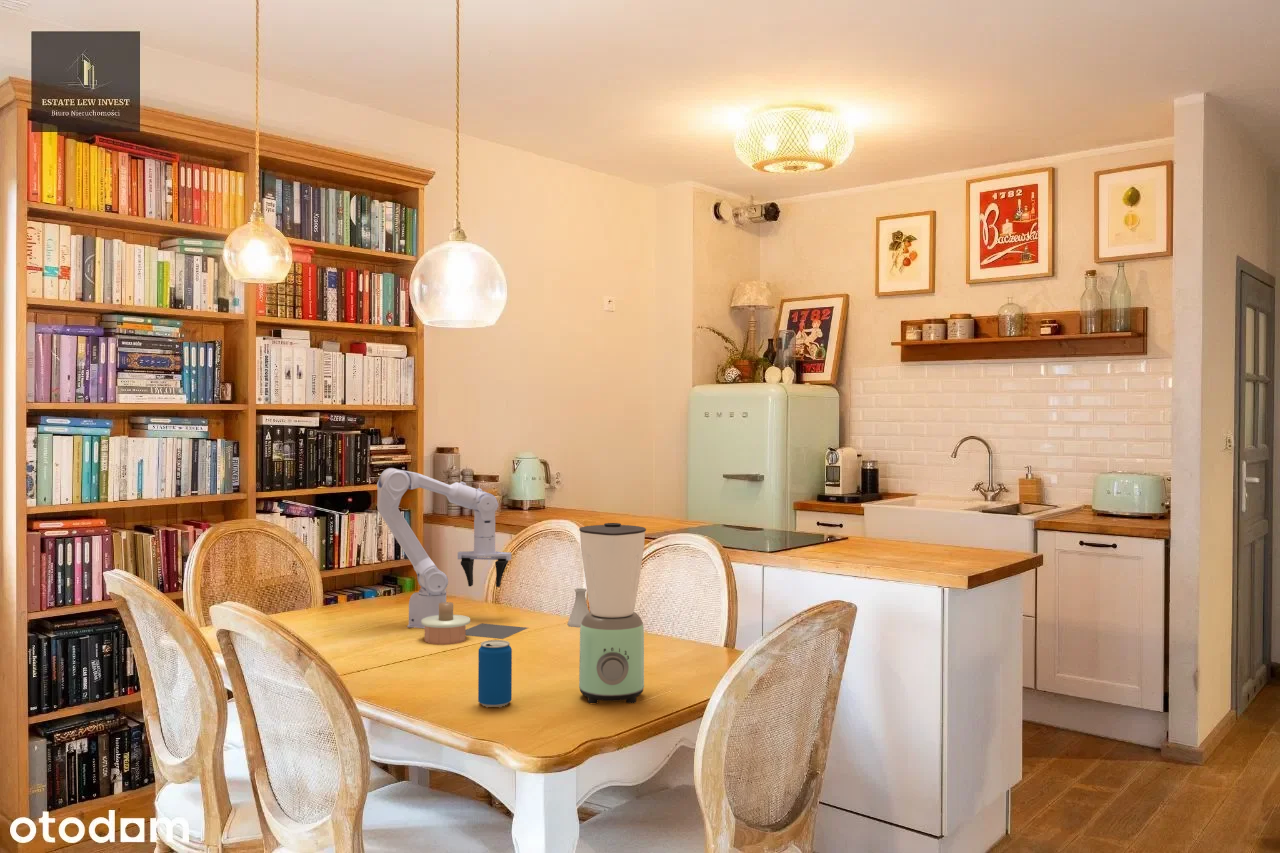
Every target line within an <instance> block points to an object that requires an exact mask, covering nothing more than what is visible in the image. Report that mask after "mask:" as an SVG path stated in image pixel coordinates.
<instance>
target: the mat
mask: <svg viewBox="0 0 1280 853" xmlns="http://www.w3.org/2000/svg"><path fill="white" fill-rule="evenodd" d="M527 629H528V627H525V626H524V627H523V626H514V625H504V624H493V623H479V624H477V625H474V626H471V627H469V628H466V637H467V636H468V637H469V636H470V637H478V638H488V639H496V640H500V639H501V640H504V639H506V638H508V637H511V636H512V635H513V636H514V635H516V634H518V633H519V632H522V631H524V630H527Z"/></svg>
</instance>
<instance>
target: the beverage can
mask: <svg viewBox="0 0 1280 853" xmlns="http://www.w3.org/2000/svg"><path fill="white" fill-rule="evenodd" d="M510 644H511V643H510V642H509V641H508V640H504V639H501V640H500V639H494V640H493V639H492V640H490V639H489V640H485V641H482V642H480V647H479V648H478V662H477V664H478V666H477V667H478V668H477V670H478V671H477V672H478V673H477V674H478V677H477V678H478V680H477V681H478V682H477V684H478V686H477V687H478V688H477V690H478V691H477V692H478V693H477V694H478V696H477V700H478V704H481V705H482V707H484V706H486V707H485V708H488V707H499V708H503V707H502V706H504V707H506V706H508V704H509V703H510V702H512V694H513V693H512V690H513V687H512V685H513V684H512V682H513V680H512V679H513V678H512V675H513V674H512V672H513V671H512V670H513V668H512V664H513V663H512V662H513V661H512V659H513V657H512V656H513V649H512V647H511V646H510ZM505 705H506V706H505Z"/></svg>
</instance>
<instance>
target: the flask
mask: <svg viewBox="0 0 1280 853" xmlns="http://www.w3.org/2000/svg"><path fill="white" fill-rule="evenodd" d="M574 592H575V598H574V603H573V606H572V610H571V612H570V615H569V618H568V622H567V626H568V627H569V628H570V627H571V628H580V627H581V622H582V620H583V618H584V617H585V615H586V614H587V613H589V612H590V609H589V608H588V604H587V598H586V593H587V588H586V587H585V588H583V587H579V588H578V587H576V588H574Z"/></svg>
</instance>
